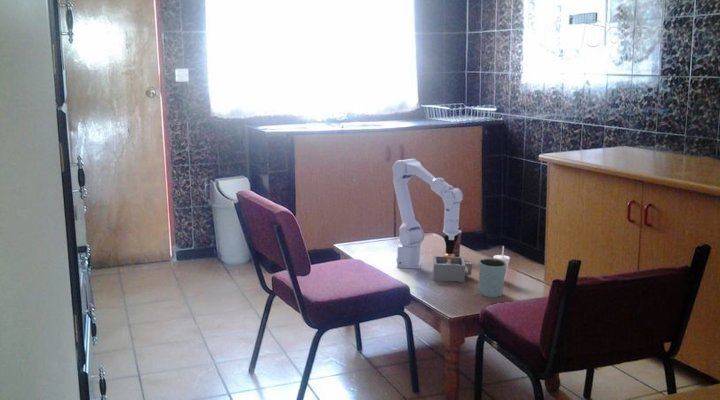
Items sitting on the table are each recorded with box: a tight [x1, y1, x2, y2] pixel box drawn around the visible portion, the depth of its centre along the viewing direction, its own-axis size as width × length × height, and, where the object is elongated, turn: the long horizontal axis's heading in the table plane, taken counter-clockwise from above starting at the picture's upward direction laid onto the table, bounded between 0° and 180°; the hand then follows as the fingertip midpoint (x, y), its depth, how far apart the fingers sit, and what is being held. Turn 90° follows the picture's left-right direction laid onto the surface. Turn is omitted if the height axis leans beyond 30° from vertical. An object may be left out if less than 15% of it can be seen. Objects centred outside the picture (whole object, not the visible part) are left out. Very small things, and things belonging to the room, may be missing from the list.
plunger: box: [437, 253, 460, 265], centre depth 287 cm, size 9×9×5 cm
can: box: [444, 225, 463, 257], centre depth 314 cm, size 6×6×14 cm
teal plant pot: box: [478, 258, 507, 298], centre depth 268 cm, size 10×10×12 cm
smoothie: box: [492, 245, 511, 283], centre depth 283 cm, size 6×6×14 cm
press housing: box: [432, 255, 473, 283], centre depth 287 cm, size 15×12×6 cm
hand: (449, 253), depth 286 cm, fingers closed
